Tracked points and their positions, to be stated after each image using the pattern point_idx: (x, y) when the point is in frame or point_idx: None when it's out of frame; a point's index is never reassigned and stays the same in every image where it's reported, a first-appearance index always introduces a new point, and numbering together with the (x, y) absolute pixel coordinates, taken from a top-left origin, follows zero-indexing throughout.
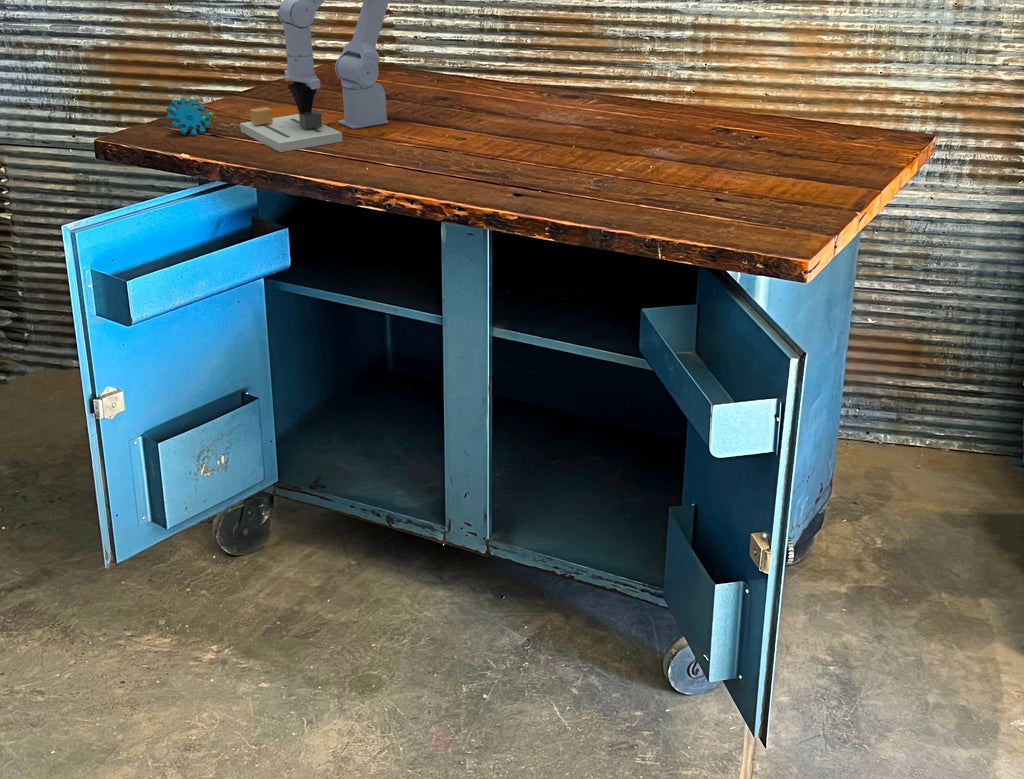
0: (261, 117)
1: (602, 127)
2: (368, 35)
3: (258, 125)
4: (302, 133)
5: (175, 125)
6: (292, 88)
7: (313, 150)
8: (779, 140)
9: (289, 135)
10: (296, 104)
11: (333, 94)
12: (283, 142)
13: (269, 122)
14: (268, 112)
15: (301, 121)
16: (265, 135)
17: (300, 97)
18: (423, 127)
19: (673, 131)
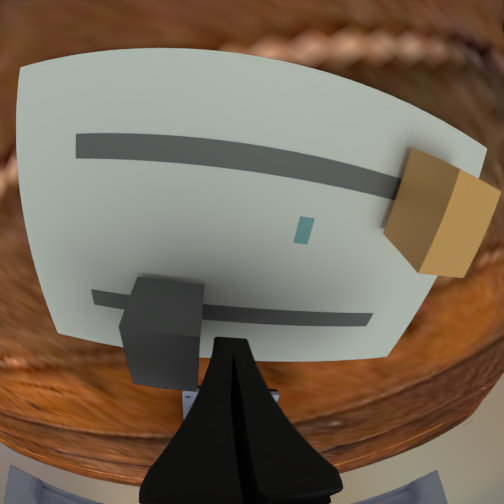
0: (423, 191)
1: (57, 452)
2: None
3: None
4: (104, 236)
5: None
6: (231, 490)
7: (10, 190)
8: (9, 441)
9: (104, 166)
10: (263, 383)
11: (426, 410)
12: (19, 88)
13: (390, 218)
14: (418, 245)
15: (180, 303)
16: (201, 55)
17: (177, 434)
18: (123, 430)
19: (35, 449)
